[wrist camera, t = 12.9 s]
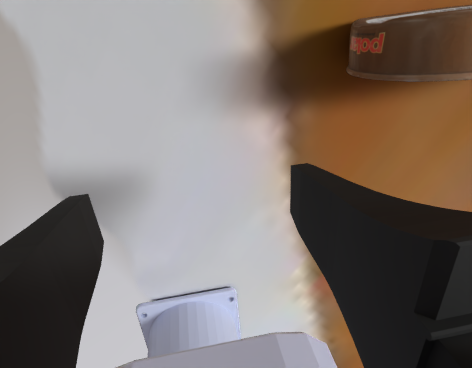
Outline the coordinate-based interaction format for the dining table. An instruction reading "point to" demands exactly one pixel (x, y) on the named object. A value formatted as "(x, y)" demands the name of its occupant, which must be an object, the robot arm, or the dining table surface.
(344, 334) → the dining table surface
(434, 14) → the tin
